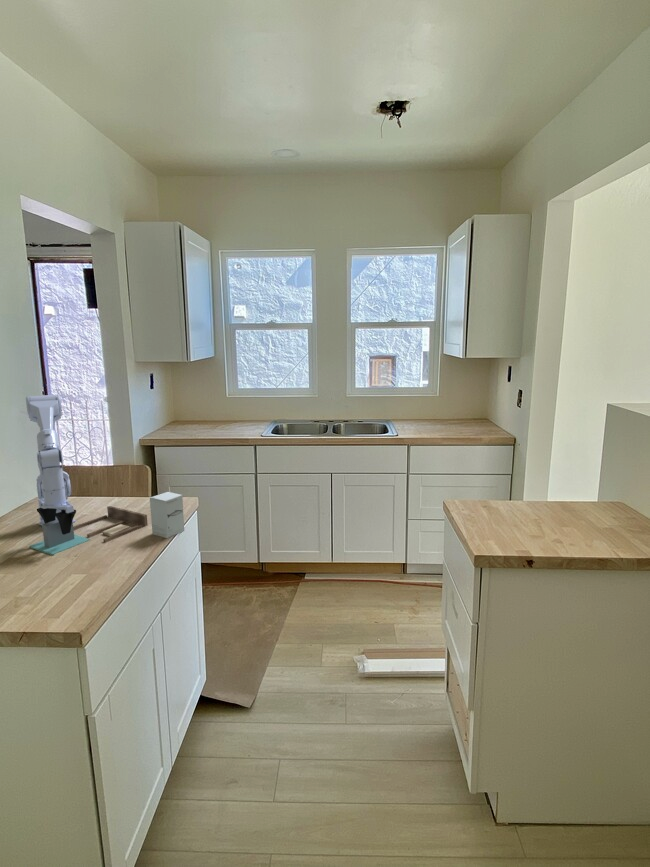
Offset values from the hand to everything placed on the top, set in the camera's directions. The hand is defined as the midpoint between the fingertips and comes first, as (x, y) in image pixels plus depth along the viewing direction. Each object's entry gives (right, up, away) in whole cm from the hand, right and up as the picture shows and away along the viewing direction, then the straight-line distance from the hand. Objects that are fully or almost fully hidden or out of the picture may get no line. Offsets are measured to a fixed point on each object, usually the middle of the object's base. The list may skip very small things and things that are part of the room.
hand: (58, 531), depth 147 cm
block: (0, -4, 0) cm, 4 cm away
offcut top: (+14, -2, +9) cm, 17 cm away
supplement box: (+31, -3, +8) cm, 32 cm away
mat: (0, -4, +1) cm, 4 cm away
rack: (+9, -2, +11) cm, 15 cm away
